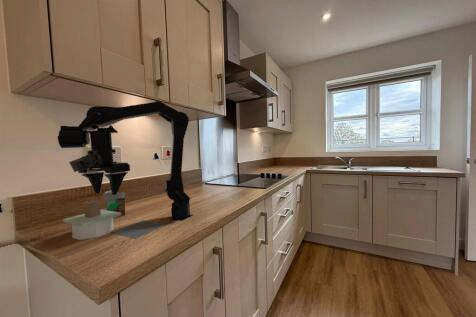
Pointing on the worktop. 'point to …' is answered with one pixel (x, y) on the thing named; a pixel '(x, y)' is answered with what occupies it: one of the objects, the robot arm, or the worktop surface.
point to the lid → (91, 215)
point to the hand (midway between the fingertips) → (105, 194)
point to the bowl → (92, 230)
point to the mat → (138, 229)
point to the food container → (115, 202)
